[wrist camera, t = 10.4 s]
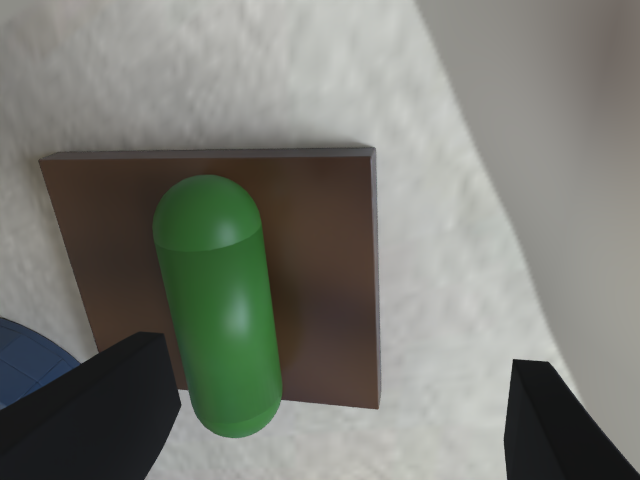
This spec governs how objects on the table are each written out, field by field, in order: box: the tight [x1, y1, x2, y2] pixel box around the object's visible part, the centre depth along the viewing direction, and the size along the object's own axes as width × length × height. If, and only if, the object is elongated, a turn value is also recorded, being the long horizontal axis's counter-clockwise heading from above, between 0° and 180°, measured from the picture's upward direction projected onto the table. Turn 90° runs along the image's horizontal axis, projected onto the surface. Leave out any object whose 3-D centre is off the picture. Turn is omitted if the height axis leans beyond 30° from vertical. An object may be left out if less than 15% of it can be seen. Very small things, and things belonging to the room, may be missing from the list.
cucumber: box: [152, 175, 282, 438], centre depth 18 cm, size 11×4×4 cm
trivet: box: [39, 147, 381, 409], centre depth 21 cm, size 11×13×1 cm
